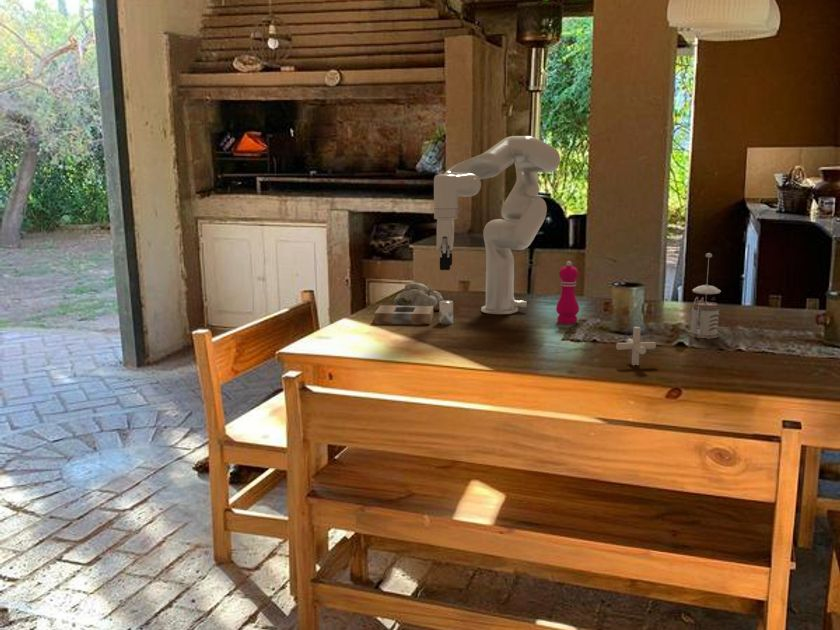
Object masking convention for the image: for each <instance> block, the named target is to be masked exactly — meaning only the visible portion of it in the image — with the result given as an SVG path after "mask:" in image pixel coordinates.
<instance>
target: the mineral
mask: <svg viewBox="0 0 840 630" xmlns="http://www.w3.org/2000/svg"><path fill="white" fill-rule="evenodd" d="M402 290H403V291H402V292H401V293H398V294H397V295H396V297H394V304H395V306H408V305H410V304H412V306H434V308H435V307H436V306H437V305H438V304H439V302H440V301H445V300H444V298H443V294H442V293H441V292H438V291H436V290H431V291H429V290H430V285H425V284H423V283H422V282H421V283H419V282H408V283H406V284H405V285H404V288H403V289H402Z"/></svg>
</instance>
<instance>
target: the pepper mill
mask: <svg viewBox="0 0 840 630" xmlns="http://www.w3.org/2000/svg"><path fill="white" fill-rule="evenodd" d="M558 276H559V278H560V279H561V280H560V284H559V285H560V286H561V295H560V297H559V300H558V302H557V304H556V308H555V309H556V310H555V311H556V313H558V316H557V318H556V319H557V323H558V324H561V325H574V324H573V323H575V324H577V323H578V317H577V316H576V315H578V313H579V312H580V307H579V302H578V300H577V297H576V294H575V288H576V286H577V281H576V280H577V279H578V277H579V271H578V268H577V267H575V266H573V263H572V261H570V260H567V262H566V263H565V265H564V266H562V267H561V268H560V270H559V272H558ZM576 322H577V323H576Z"/></svg>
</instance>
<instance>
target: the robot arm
mask: <svg viewBox="0 0 840 630" xmlns="http://www.w3.org/2000/svg"><path fill="white" fill-rule="evenodd" d="M560 163H561V155H560V153H559V151H558V150H557V148H556V147H554V146H552V145H551V144H548V143H547V142H545V141H543V140H541V139H538V138H536V137H533V136H531V135H513V136H508V137H507V136H506V137H505V138H503V139H501V140H500V141H499V142H497V143H496V144H494V145H493V146H491V147H490V148H489V149H486V151H484V152H483V153H481V154H479V155H476V156H474V157H470V158H469V159H466V160H463V161H461V162H459V163H456V164H455V165H453V166H452V167H450V168H449V169H447V170H446V171H444V172H443V173H441V174H436V175H435V176H434V177H433V219H434V220H436V243H435V244H436V246H435V247H436V248H435V250H437V251H439V250H440V254H439V256H440V257H439V270H440V271H450V270H451V266H452V265H453V253H452V251H453V248H454V240H455V220H457V219H458V218H459V197H465V198H468V197H469V198H470V197H474V196H476V195H477V194H478V193H479V192H480V191H481V186H482V182H481V180H485V179H490V178H494V177H496V176H499V174H501V173H502V172H504V171H505V170H506V169H508V168H509V167H510V166H512V165H513V164H514V167H515V174H516V180H515V184H514V185H513V186H512V187H513V188H512V189H511V191H510V192H509V194H508V195H507V197H506V199H505V201H504V203H503V205H502V207H501V217H502V218H503V219H502V218H499V219H498V218H497V219H492V220H490V221H488V222H487V223H486V224H485V226H484V229H483V235H482V236H483V241H484V246H485V247H484V248H485V305H483V306H481V307H480V308H481V309H480V311H481V312H482V313H485V314H490V315H512V314H516V313H517V312H518V311H519V308H518V307H521V308H526V307H527V306H528V305H527V301H526V300H525V301H524V300H518V299H515V296H514V295H515V294H514V292H515V291H514V288H515V286H514V284H515V282H514V281H515V258H514V254H513V251H512V250H517V251H518V250H519V251H522V250H525V249H528V247H529V246H531V244H532V243H533V241H534V240H535V237H536V235H537V234H538V232H539V231H540V228H541V227H542V225H543V224H544V221H545V220H546V216H547V211H548V207H547V203H546V201H545V200H544V198H542V197H540V196H538V193H539V191H540V185H539V181H538V179H537V175H536V173H552V172H554V171H555V170H557V169H558V167H559V166H560Z"/></svg>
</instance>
